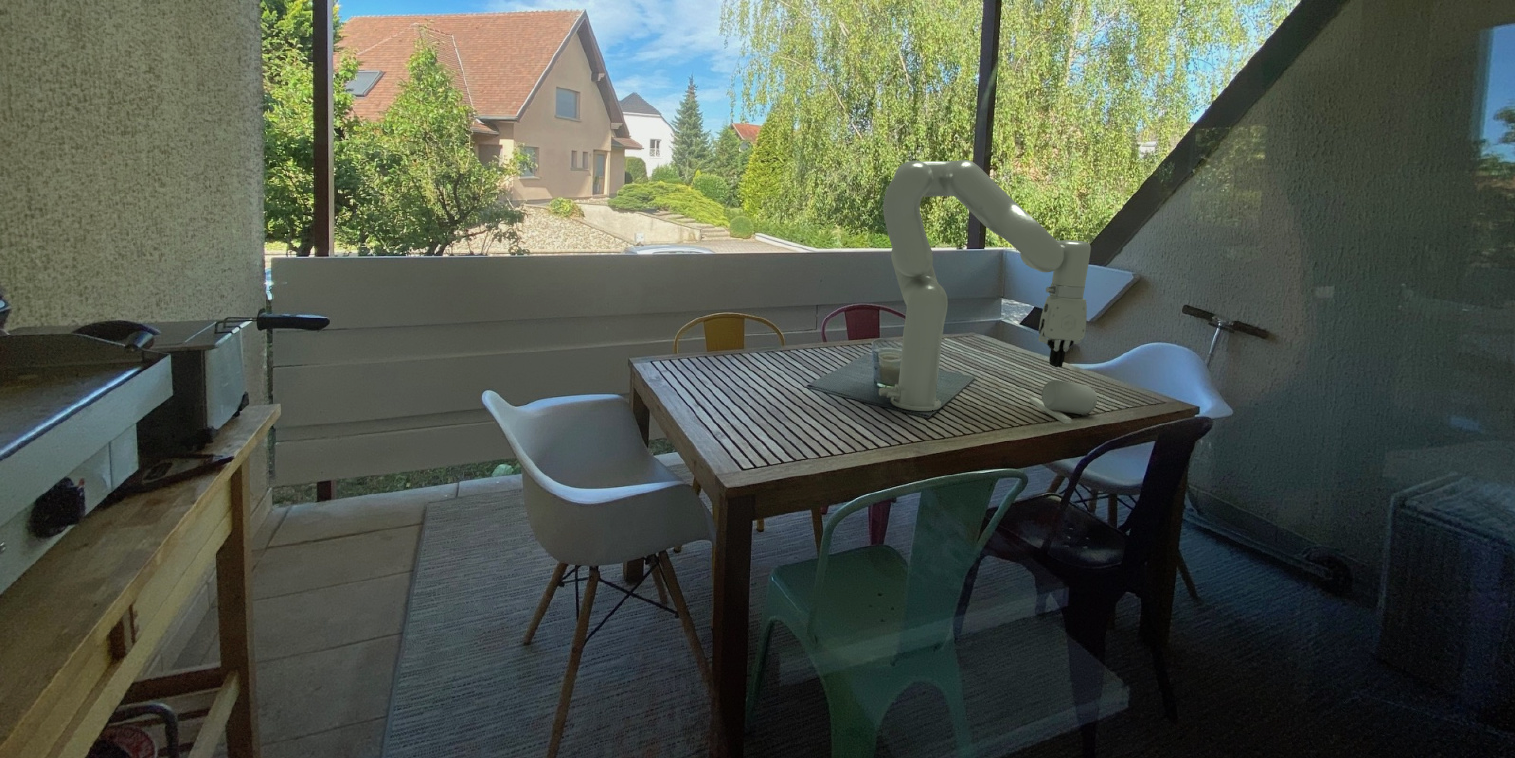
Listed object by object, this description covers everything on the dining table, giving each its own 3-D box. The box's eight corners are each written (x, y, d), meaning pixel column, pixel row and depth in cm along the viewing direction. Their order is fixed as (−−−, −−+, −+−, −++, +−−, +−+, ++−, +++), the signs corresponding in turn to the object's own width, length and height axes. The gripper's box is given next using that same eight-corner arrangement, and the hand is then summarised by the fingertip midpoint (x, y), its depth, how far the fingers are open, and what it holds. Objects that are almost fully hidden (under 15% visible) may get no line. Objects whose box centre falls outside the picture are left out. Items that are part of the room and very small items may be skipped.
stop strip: (1064, 423, 187) (1065, 418, 186) (1029, 401, 204) (1029, 397, 204) (1070, 423, 187) (1071, 418, 187) (1035, 401, 204) (1035, 397, 204)
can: (1054, 410, 189) (1096, 418, 191) (1061, 380, 188) (1102, 388, 191) (1036, 406, 196) (1077, 413, 199) (1042, 377, 195) (1083, 384, 198)
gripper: (1045, 294, 182) (1034, 369, 186) (1104, 295, 184) (1091, 370, 189) (1030, 289, 189) (1020, 361, 194) (1087, 290, 191) (1075, 362, 196)
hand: (1055, 365), depth 191 cm, fingers closed
